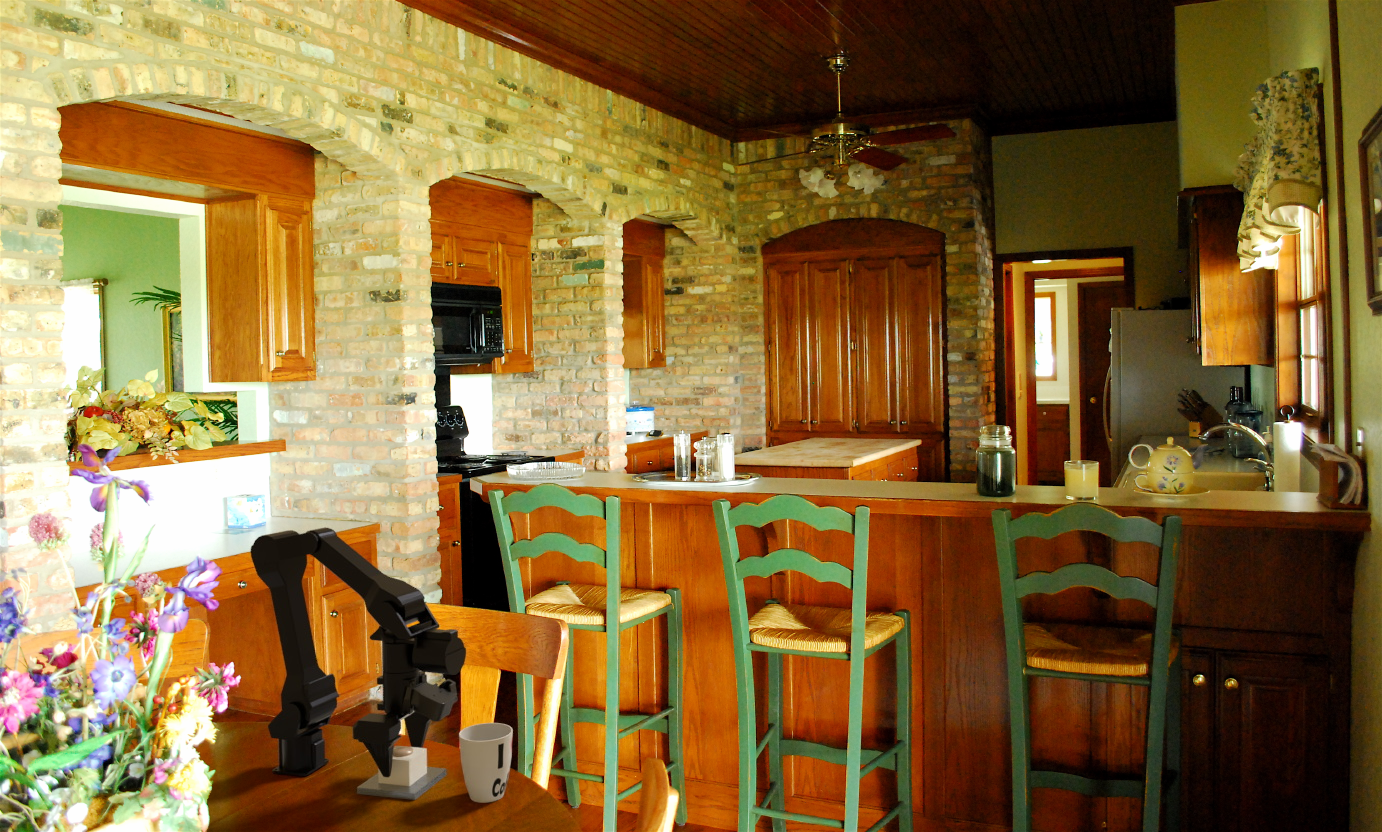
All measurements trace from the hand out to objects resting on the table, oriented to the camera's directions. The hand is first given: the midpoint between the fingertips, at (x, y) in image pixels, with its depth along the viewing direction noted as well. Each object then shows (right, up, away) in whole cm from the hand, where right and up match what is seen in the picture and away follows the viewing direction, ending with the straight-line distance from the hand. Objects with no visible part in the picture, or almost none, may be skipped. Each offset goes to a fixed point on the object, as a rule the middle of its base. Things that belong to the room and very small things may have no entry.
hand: (402, 765), depth 156 cm
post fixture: (0, -3, 0) cm, 3 cm away
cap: (0, -2, 0) cm, 2 cm away
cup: (+14, -3, -5) cm, 15 cm away
